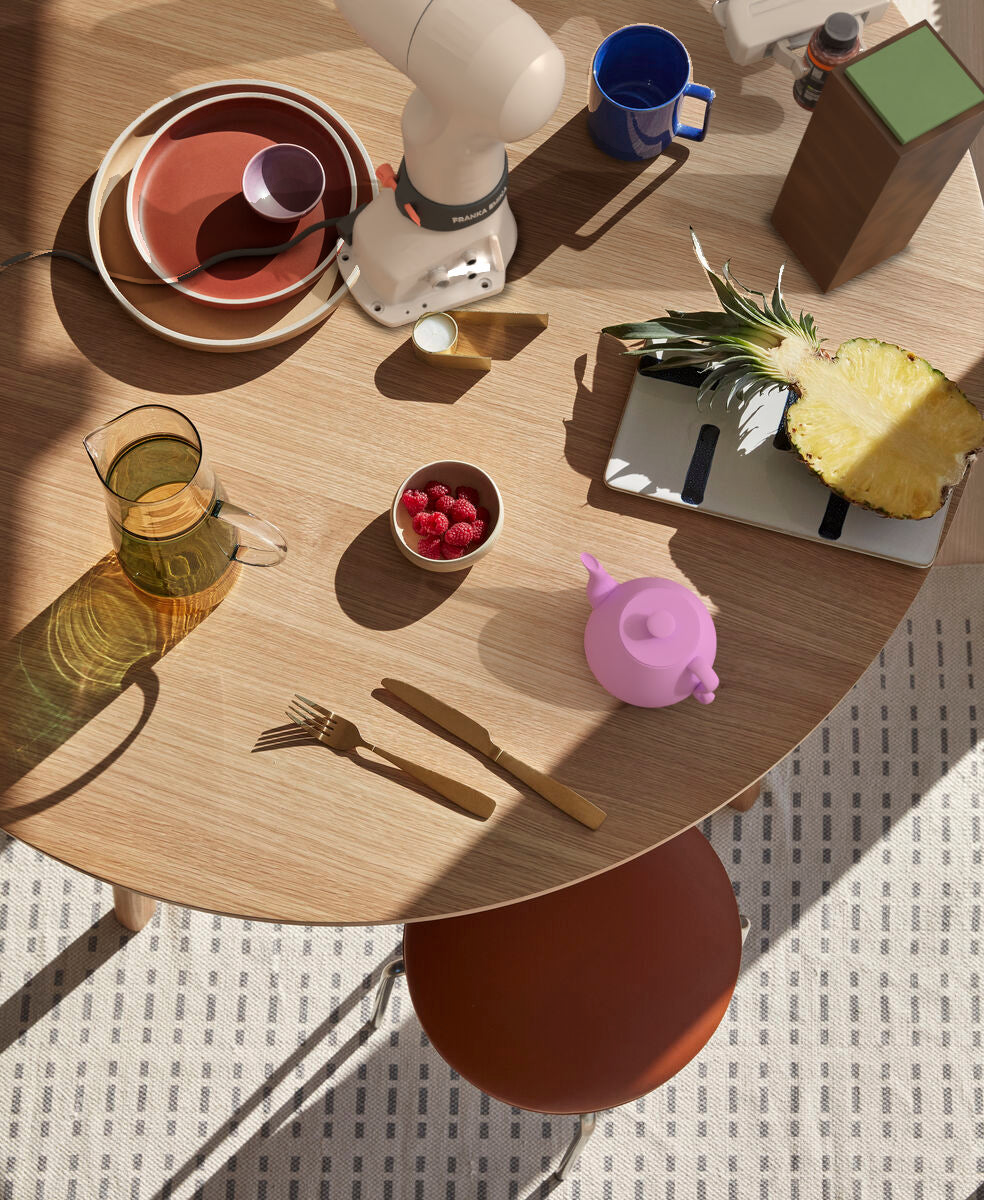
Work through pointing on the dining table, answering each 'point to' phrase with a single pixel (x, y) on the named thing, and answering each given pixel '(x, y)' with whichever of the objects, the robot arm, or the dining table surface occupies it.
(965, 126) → the walnut stand
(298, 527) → the dining table surface
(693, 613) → the teapot
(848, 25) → the supplement bottle
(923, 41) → the green mat
